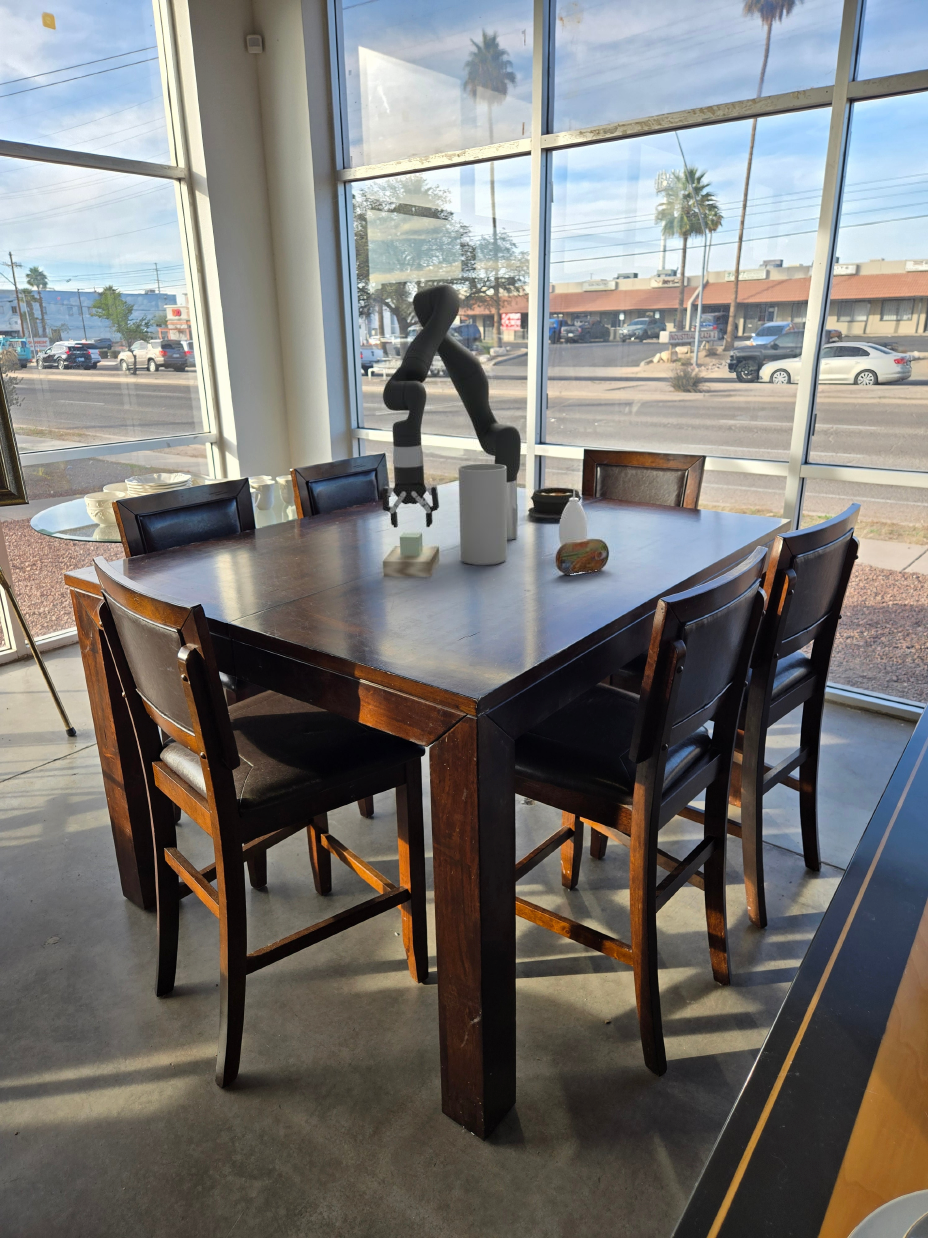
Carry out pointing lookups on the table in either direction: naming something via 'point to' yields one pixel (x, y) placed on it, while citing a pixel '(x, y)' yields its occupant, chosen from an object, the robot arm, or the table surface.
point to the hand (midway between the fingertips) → (411, 526)
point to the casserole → (551, 502)
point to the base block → (411, 563)
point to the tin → (582, 556)
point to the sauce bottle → (573, 522)
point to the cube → (411, 544)
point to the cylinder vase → (483, 513)
